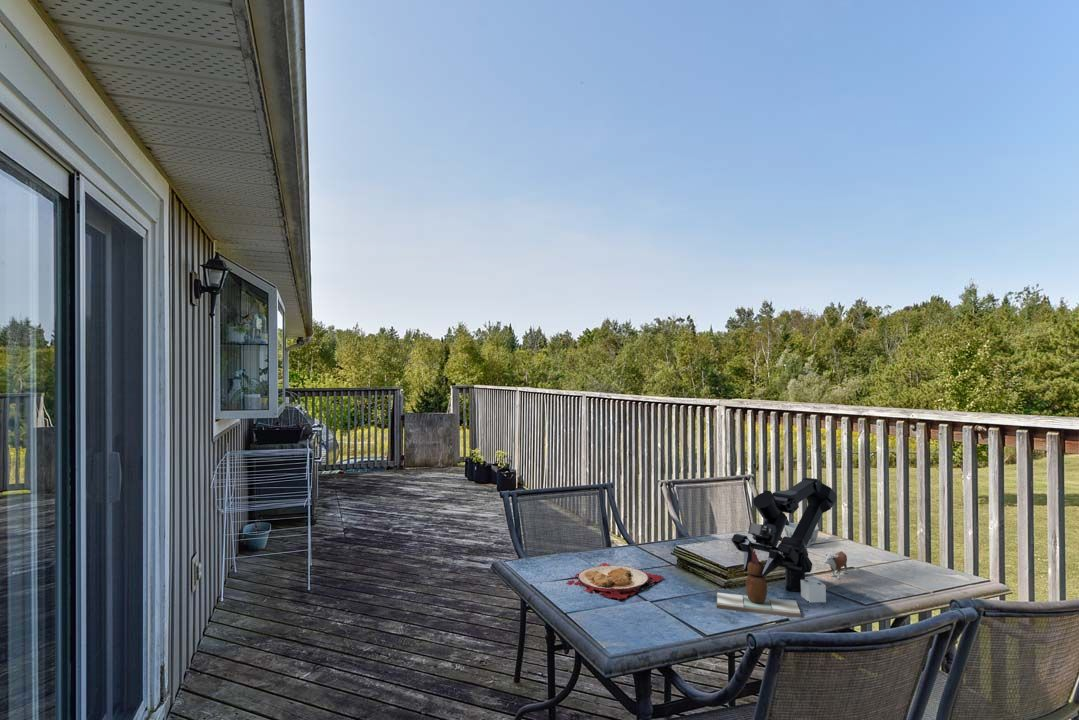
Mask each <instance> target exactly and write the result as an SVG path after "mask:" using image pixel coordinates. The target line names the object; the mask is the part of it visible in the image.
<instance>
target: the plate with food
mask: <svg viewBox="0 0 1079 720" xmlns="http://www.w3.org/2000/svg"><path fill="white" fill-rule="evenodd" d="M573 577H574V578H573ZM570 578H571V580H569V581H567V582H566V583H565V584H566V585H568V586H572V585H574V586H579V587H581V588H585V589H583V590H582V591H583V592H587V593H588V594H596V593H599V595H602V597H604V598H609V599H612V598H613V599H617V600H623V599H627V597H628V596H629V597H633V596H634V595H635V594H636V593H638V592H640V591H643V590H644V588H642V587H641V586H643V585H646V588H648V587H651V586H654V585H655V584H654V583H658V582H659V581H662V580H663V579H664V578H665V576H664V575H661V574H659V575H658V574H652V573H650V572H649V573H648V572H645V571H644V570H641V569H638V568H636V569H635V568H633V567H630V566H625V565H624V566H623V565H621V566H620V565H610V564H609V563H606V562H603V563H601V564H599V566H594V567H591V568H584V569H583V570H582V571H580V572H579V573H575V575H574V576H572V577H570ZM576 578H577V579H578V580H577V581H576V582H575V580H576ZM650 580H651V581H650ZM640 587H641V588H640ZM598 591H600V592H598ZM607 592H609V593H607Z"/></svg>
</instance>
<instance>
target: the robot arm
mask: <svg viewBox="0 0 1079 720" xmlns="http://www.w3.org/2000/svg"><path fill="white" fill-rule="evenodd" d="M837 498H838V497H837V493H836V492H835V490H833V488H832V487H830V486H829V485H827V484H825V483H823V482H822V481H821V480H820V479H818V478H812V477H804V478H802V479H801V481H798V483H797V484H795V485H793V486H791V487H789V488H788V489H786V490H778V491H774V492H772V491H771V490H766V489H764V491H763V492H762V493H759V494H757V495H756V496H755V497H754V498H753V499H752V501H753V502H752V503H753V506H754V507H755V508H756V510H757V512H758V513H759V515H760V516H761V518H763V519H764V521H763V523H762V524H760V523H759V524H758V523H754V522H749V526H748V531H747V533H748V534H749V535H752V537H751V538H752V539H753V540H754V541H751V540H750V539H749V538H748V535H743V534H739V533H735V534H733V536H732V537H731V539H730V540H731V542H732V543H733V545H734V546H735V548H736V549H737V550H738V551H740V552H741V553H742V552H743V571H744V572H746V573H747V572H748V571H747V566H748V563H749V562H751V561H752V547H753V551H754V550H757V551H761V552H765V553H768V558H767V560H766V562H765V565H764V569H763V572H762V575H763V576H764V578H765V577H767V576H768V575H769V574H771V572H772V571H774V570H776V569H777V568H778V567H779V568H784V569H785V581H784V582H782V583H783V587H784V590H785V591H788V592H799V593H801V580H806V574H807V573H811V571H812V568H813V562H812V561H811V559H810V558H809V552H808V547H806V546H807V544H808V542H809V540H810V538H811V536H812V534H813V531H814V529H815V527H816V526H817V525H818V523H819V522H820V519H821V517H822V515H823V514H824V513H826V512H828V511H830V510H831V509H832V508H833V506H834V505H835V504H836V502H837ZM805 499H806V501H807V506H806V508H805V510H804V512H803V513H802V515H801V517H800V520H799V521H798V522H797V523H798V525H797V527H796V529H795V531H794V533H793V535H792V536H791V537H787V535H785V536H783V537H782V534H783V531H784V530H785V528H784V527H785V525H789V523H790V522H789V520H788V516H787V515H786V514H794V513H795V512H797V510H798V509H800V505H799V503H801V502H802V501H804V500H805ZM785 513H786V514H785ZM779 542H780V543H779Z"/></svg>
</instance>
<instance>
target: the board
mask: <svg viewBox="0 0 1079 720" xmlns="http://www.w3.org/2000/svg"><path fill="white" fill-rule="evenodd" d="M716 609H719V610H721V609H722V610H729V611H737V612H738V611H741V612H748V613H756V614H766V615H775V616H776V615H777V616H783V617H784V616H785V617H791V618H802V613H801V610H800V608H799V605H798V602H797V600H795V599H794V600H793V599H782V598H775V597H774V598H773V597H766V600H765V601H764V602H763V603H754V602H751V601H750V600H749V598H748V596H747V595H745V594H744V595H743V594H735V593H726V592H717V593H716Z"/></svg>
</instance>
